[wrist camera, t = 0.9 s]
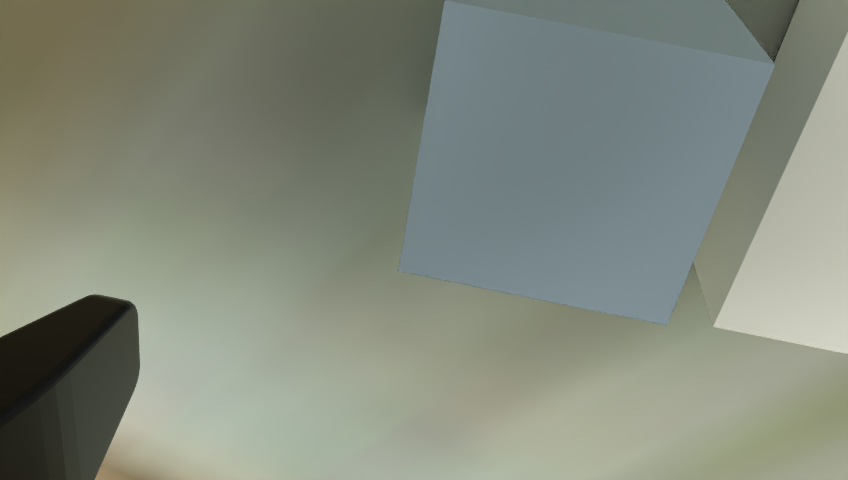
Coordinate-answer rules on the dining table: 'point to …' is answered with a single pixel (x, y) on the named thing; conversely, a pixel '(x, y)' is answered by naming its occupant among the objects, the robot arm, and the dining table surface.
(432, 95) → the block
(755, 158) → the well
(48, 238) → the dining table surface
